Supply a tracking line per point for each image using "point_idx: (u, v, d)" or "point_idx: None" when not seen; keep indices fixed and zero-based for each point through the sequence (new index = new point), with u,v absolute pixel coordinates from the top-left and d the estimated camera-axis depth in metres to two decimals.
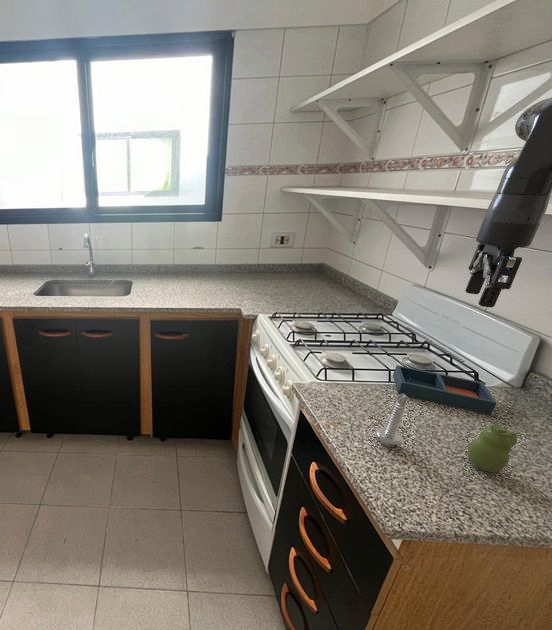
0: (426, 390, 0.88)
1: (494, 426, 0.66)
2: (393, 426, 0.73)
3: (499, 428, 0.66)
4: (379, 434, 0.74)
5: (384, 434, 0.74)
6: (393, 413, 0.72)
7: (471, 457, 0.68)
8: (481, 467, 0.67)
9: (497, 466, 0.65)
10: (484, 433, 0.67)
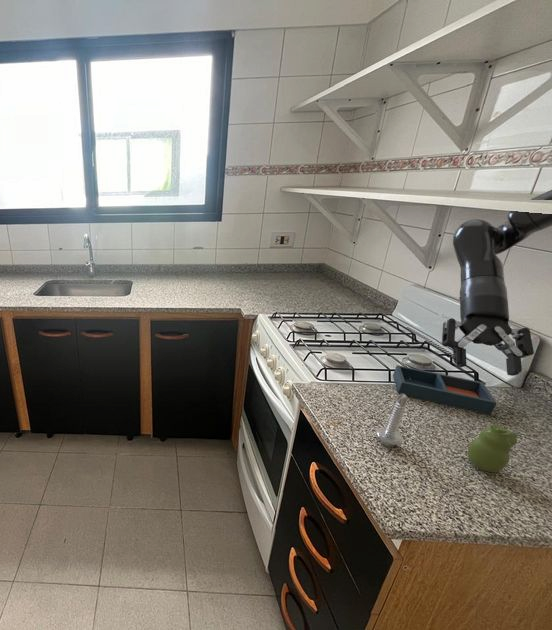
0: (426, 390, 0.88)
1: (494, 426, 0.66)
2: (393, 426, 0.73)
3: (499, 428, 0.66)
4: (379, 434, 0.74)
5: (384, 434, 0.74)
6: (393, 413, 0.72)
7: (471, 457, 0.68)
8: (481, 467, 0.67)
9: (497, 466, 0.65)
10: (484, 433, 0.67)
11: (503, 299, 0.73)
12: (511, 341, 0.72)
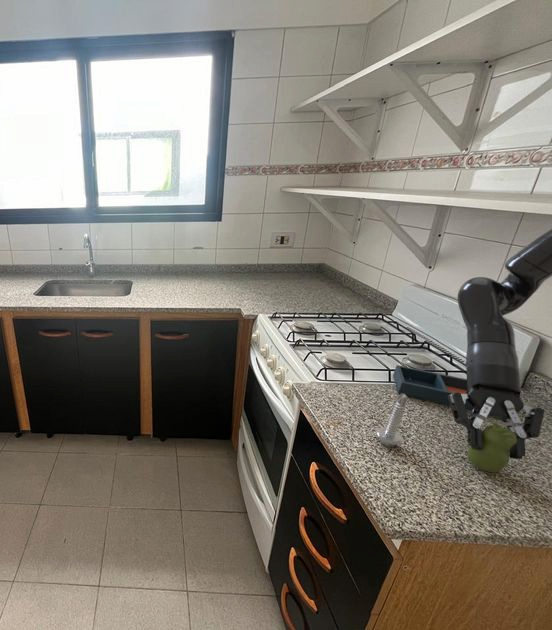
0: (426, 390, 0.88)
1: (494, 426, 0.66)
2: (393, 426, 0.73)
3: (499, 428, 0.66)
4: (379, 434, 0.74)
5: (384, 434, 0.74)
6: (393, 413, 0.72)
7: (471, 457, 0.68)
8: (481, 467, 0.67)
9: (496, 466, 0.65)
10: (483, 433, 0.67)
11: (514, 370, 0.67)
12: (518, 420, 0.65)
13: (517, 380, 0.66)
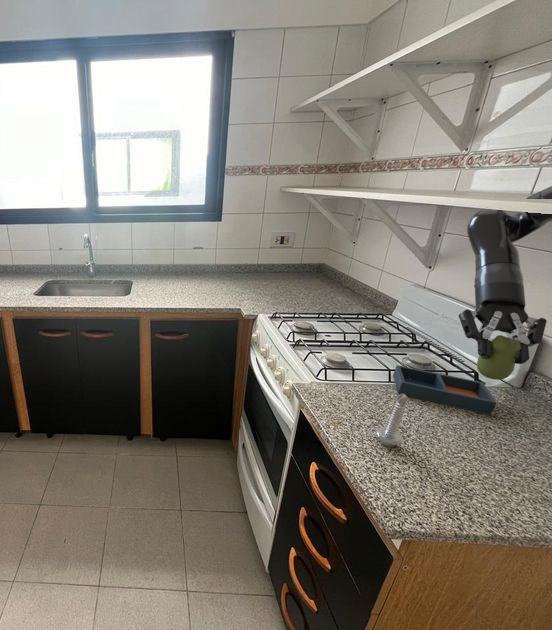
0: (426, 390, 0.88)
1: (499, 336, 0.73)
2: (393, 426, 0.73)
3: (504, 338, 0.72)
4: (379, 434, 0.74)
5: (384, 434, 0.74)
6: (393, 413, 0.72)
7: (480, 368, 0.75)
8: (490, 375, 0.74)
9: (503, 372, 0.72)
10: None
11: (519, 285, 0.73)
12: (523, 329, 0.72)
13: (522, 294, 0.73)
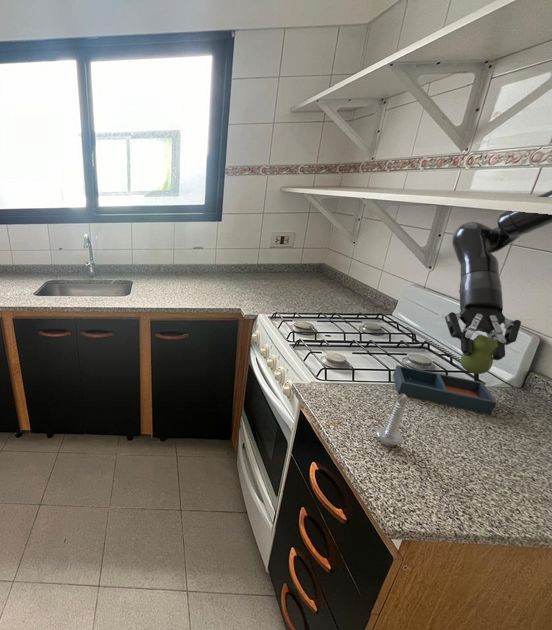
0: (426, 390, 0.88)
1: (479, 336, 0.83)
2: (393, 426, 0.73)
3: (483, 337, 0.83)
4: (379, 434, 0.74)
5: (384, 434, 0.74)
6: (393, 413, 0.72)
7: (463, 364, 0.85)
8: (471, 370, 0.84)
9: (483, 367, 0.82)
10: None
11: (498, 291, 0.83)
12: (500, 329, 0.82)
13: (500, 299, 0.83)
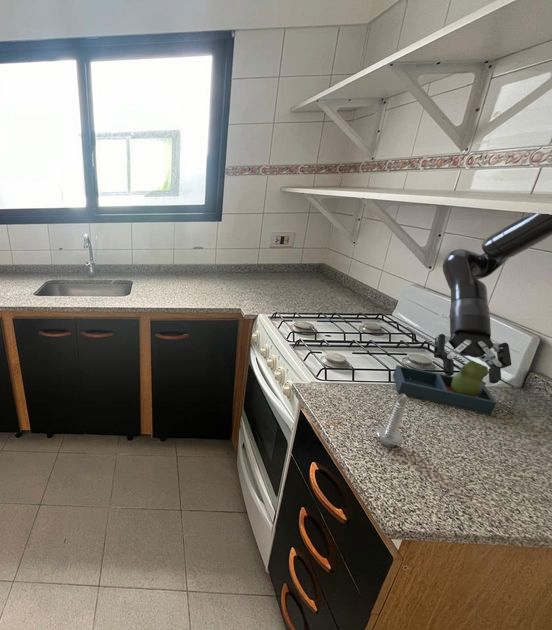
0: (426, 390, 0.88)
1: (471, 362, 0.85)
2: (393, 426, 0.73)
3: (474, 363, 0.85)
4: (379, 434, 0.74)
5: (384, 434, 0.74)
6: (393, 413, 0.72)
7: (453, 388, 0.88)
8: None
9: (472, 392, 0.85)
10: (463, 368, 0.86)
11: (486, 318, 0.86)
12: (492, 354, 0.84)
13: (488, 325, 0.86)
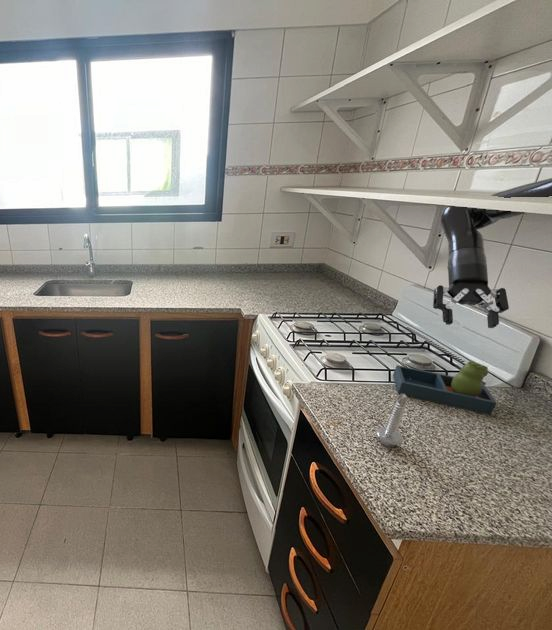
0: (426, 390, 0.88)
1: (471, 362, 0.85)
2: (393, 426, 0.73)
3: (474, 363, 0.85)
4: (379, 434, 0.74)
5: (384, 434, 0.74)
6: (393, 413, 0.72)
7: (453, 388, 0.88)
8: None
9: (472, 392, 0.85)
10: (463, 368, 0.86)
11: (482, 266, 0.89)
12: (489, 300, 0.87)
13: (484, 273, 0.89)
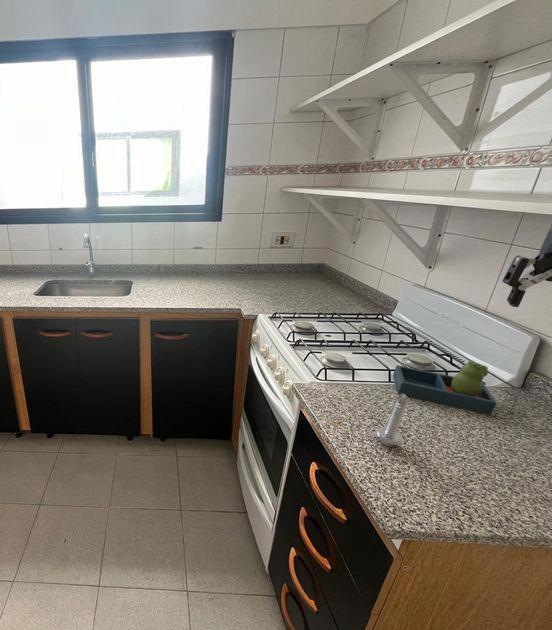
0: (426, 390, 0.88)
1: (471, 362, 0.85)
2: (393, 426, 0.73)
3: (474, 363, 0.85)
4: (379, 434, 0.74)
5: (384, 434, 0.74)
6: (393, 413, 0.72)
7: (453, 388, 0.88)
8: None
9: (472, 392, 0.85)
10: (463, 368, 0.86)
11: None
12: None
13: None
